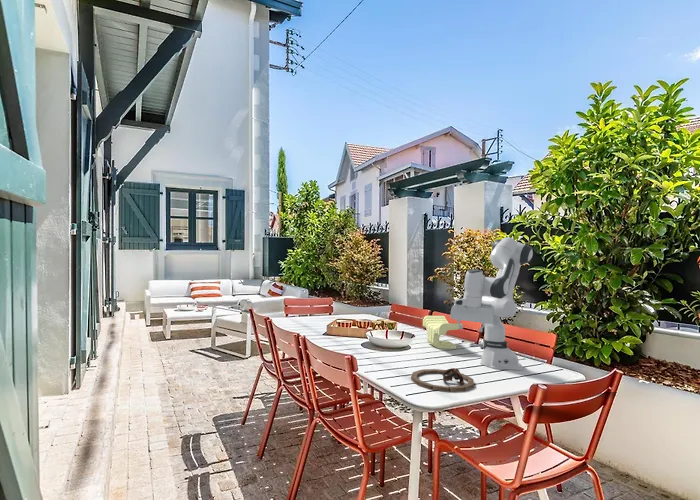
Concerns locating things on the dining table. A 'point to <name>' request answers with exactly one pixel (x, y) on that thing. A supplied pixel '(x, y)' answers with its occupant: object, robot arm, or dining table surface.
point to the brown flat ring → (440, 388)
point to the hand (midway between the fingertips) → (470, 330)
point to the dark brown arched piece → (453, 375)
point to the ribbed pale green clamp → (438, 330)
